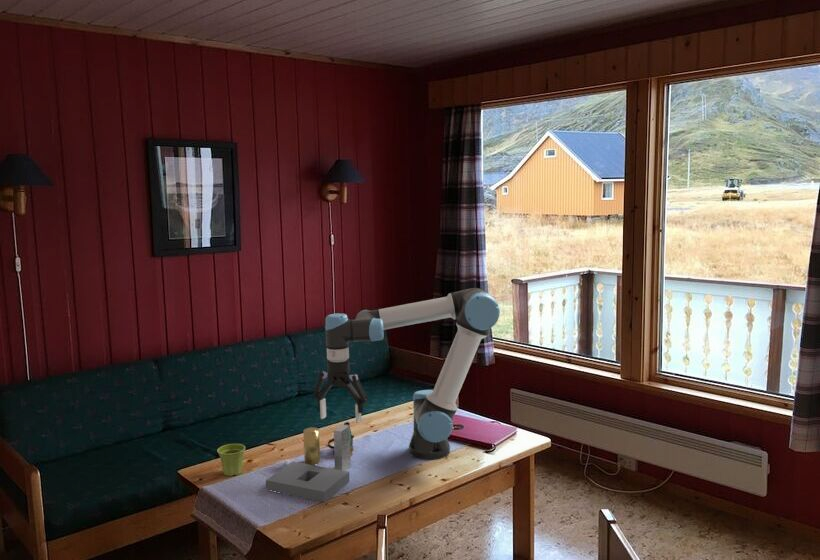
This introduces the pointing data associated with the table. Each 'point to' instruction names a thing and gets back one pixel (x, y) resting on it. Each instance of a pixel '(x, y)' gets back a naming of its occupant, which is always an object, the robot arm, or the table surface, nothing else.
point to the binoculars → (350, 440)
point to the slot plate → (318, 486)
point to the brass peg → (311, 446)
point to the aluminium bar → (342, 447)
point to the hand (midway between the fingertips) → (340, 419)
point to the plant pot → (231, 458)
